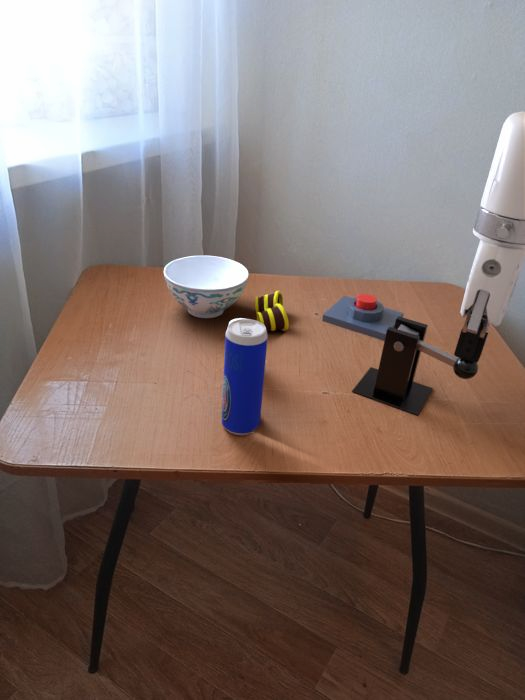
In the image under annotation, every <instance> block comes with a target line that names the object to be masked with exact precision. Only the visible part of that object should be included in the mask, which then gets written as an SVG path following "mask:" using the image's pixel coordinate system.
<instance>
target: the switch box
mask: <svg viewBox="0 0 525 700" xmlns="http://www.w3.org/2000/svg"><path fill="white" fill-rule="evenodd" d="M356 299H357V296H355V297H351V296H347V295H343V296H342V297H340V299H338V301H336V302H335V303H334V304H333V305H332V306H331V307H330V308H329V309H327V310H326V311H325V312H324V313H323V314H322V322H324V323H327V324H330V325H334V326H337V327H340V328H343V329H346V330H349V331H353V332H355V333H359V334H361V335H366V336H368V337H371V338H375V339H378V340H381V341H385V336H386V332H387V329H388V328H389V327H392V328H394V326H395V321H396V318H397V317H398V316H399V317H403V318H404V314H405V313H404V312H401V311H398V310H394V309H391V308H388V307H385V306H384V305H383V303H382V302H380V301H379V300H377V302H376V307H375V310H363V309H360V308H357V307H356Z"/></svg>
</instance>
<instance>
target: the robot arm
mask: <svg viewBox="0 0 525 700" xmlns="http://www.w3.org/2000/svg"><path fill="white" fill-rule="evenodd" d="M491 161H492V162H491V165H490V168H489V173H488V176H487V179H486V183H485V186H484V189H483V192H482V193H483V194H482V196H481V201H480V204H479V207H478V211H477V215H476V217H475V222H474V225H473V228H472V234H473V235H474V237H476V238H477V239H479V243H478V246H477V249H476V252H475V255H474V259H473V262H472V265H471V266H472V267H471V269H470V273H469V275H468V279H467V283H466V287H465V291H464V294H463V299H462V302H461V307H460V312H459V314H460V316H461V317H462V318H465V321H464V324H463V326H462V328H461V330H460V332H459V333H460V334H459V337H458V340H457V343H456V346H455V349H454V353H453V356H454V357H456V358H462V359H465V360H468V361H471V362H474V363H477V364H478V362H479V361H480V359H481V356H482V353H483V350H484V347H485V344H486V342H487V338H488V335H489V332H488V330H489V327H490V325H492V326H493V327H498V326H500V325H501V324H502V322H503V320H504V317H505V315H506V313H507V311H508V308H509V305H510V303H511V300H512V296H513V293H514V290H515V288H516V285H517V283H518V280H519V276H520V274H521V270H522V266H523V264H524V261H525V111H517V112H516V111H515V112H514V113H513V112H512V114H510V115H509V116H508V117H507V118H506V119H505V121H504V122H503V124H502V127H501V130H500V133H499V138H498V141H497V144H496V148H495V150H494V155H493V158H492V160H491Z"/></svg>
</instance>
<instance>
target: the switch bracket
mask: <svg viewBox="0 0 525 700" xmlns="http://www.w3.org/2000/svg"><path fill="white" fill-rule="evenodd" d="M401 324H402V325H404V326H406V327H408V328H410V329H413V330H415V331H417V332H419V335H415V334H411V333H408V332H405V331H402V330H398V328H399V327H400V325H401ZM427 331H428V324H426V323H423V322H420V321H416V320H413V319H410V318H407V317H404V316H403V317H399V316H398V317H397V318H396V321H395V326H394V328H392V327H389V328H388V329H387V332H386V336H385V341H384V340H383V341H384V342H383V346H382V351H381V355H380V361H379V365H378V368H375V367H373V366H370V367H369V368H368V370H367V371H366V372H365V374H364V375H363V376H362V377H361V379H360V380H359V381H358V382H357V384H356V385H355V386H354V388H353V389H352V390H351V393H352V394H356V395H358V396H361V397H364V398H366V399H369V400H371V401H375V402H377V403H379V404H383V405H386V406H388V407H391V408H395V409H396V410H399V411H402V412H405V413H407V414H410V415H413V416H416V417H418V416H419V415H420V413H421V411H422V409H423V408H424V406H425V404H426V403H427V401H428V398H429V397H430V395H431V393H432V391H433V389H434V388H433V387H431V386H428V385H425V384H422V383H419V382H416V381H415V377H416V372H417V369H418V365H419V361H420V357H421V353H422V352H421V351H419V350H417V346H418V342H419V340H421V341H423V342H425V337H426V333H427Z"/></svg>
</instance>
